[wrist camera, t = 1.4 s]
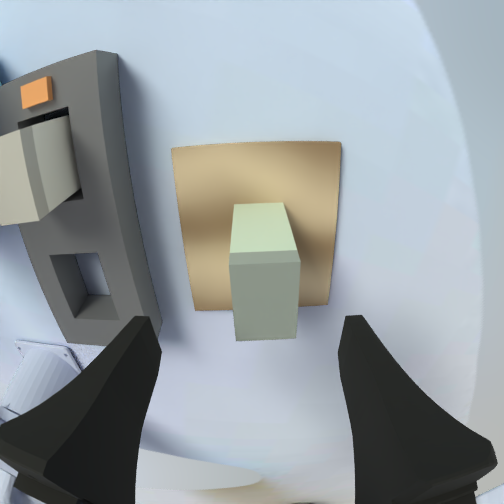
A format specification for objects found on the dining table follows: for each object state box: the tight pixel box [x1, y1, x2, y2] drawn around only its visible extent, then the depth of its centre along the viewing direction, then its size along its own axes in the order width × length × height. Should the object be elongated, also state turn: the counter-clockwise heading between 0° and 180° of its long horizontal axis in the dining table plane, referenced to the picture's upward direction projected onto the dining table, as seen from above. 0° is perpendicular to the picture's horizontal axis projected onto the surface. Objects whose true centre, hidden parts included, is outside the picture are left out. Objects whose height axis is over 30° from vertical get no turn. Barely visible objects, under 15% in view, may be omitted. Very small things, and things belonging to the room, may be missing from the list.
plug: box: [229, 202, 301, 341], centre depth 17 cm, size 4×3×7 cm, turn 2°
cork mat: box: [171, 141, 341, 311], centre depth 21 cm, size 12×10×1 cm
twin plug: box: [0, 115, 81, 226], centre depth 14 cm, size 4×3×7 cm, turn 2°
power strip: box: [0, 50, 162, 346], centre depth 18 cm, size 20×8×4 cm, turn 2°
